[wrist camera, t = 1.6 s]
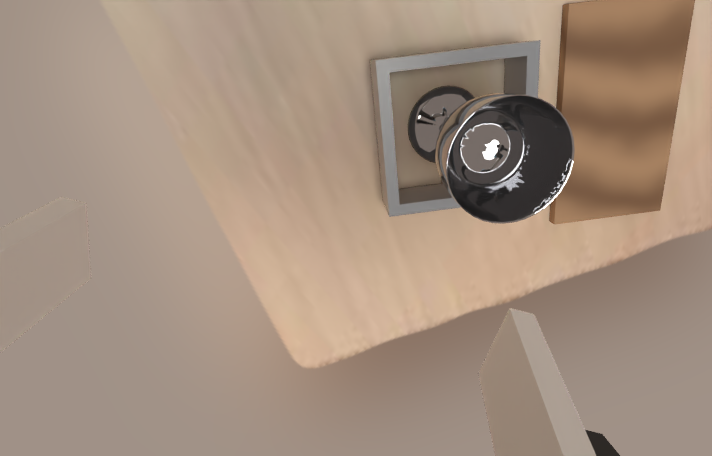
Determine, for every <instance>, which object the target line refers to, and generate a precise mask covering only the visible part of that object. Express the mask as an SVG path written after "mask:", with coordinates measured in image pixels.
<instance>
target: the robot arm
mask: <svg viewBox="0 0 712 456" xmlns="http://www.w3.org/2000/svg"><path fill="white" fill-rule="evenodd" d="M89 279H91V266H90V251H89V235H88V221H87V206H86V203H85V202H81V201H77V200H72V199H68V198H64V197H60V198H58V199H56V200H54V201H52V202H50V203H48V204H46V205H45V206H43V207H41V208H39V209H37V210H35V211H33V212H31V213H29V214H27V215H25V216H23V217H21V218H19V219H17V220H16V221H13V222H12V223H9V224H8V225H6V226H4V227H2V228H0V353H1V352H2V351H3V350H4V349H6V348H7V347H8V346H9V345H10V344H12V343H13V342H14V341H15V340H17V339H18V338H19V337H20V336H21V335H22V334H24V333H25V332H26V331H27V330H29V329H30V328H31V327H32V326H34V325H35V324H36V323H37V322H38V321H40V320H41V319H42V318H43V317H44V316H46V315H47V314H48V313H49V312H50V311H52V310H53V309H54V308H55V307H56V306H58V305H59V304H60V303H61V302H63V301H64V300H65V299H66V298H67V297H69V296H70V295H71V294H72V293H73V292H75V291H76V290H77V289H78V288H80V287H81V286H82V285H83V284H85V283H86V282H87V281H88V280H89ZM478 376H479V380H480V385H481V390H482V395H483V399H484V405H485V409H486V414H487V419H488V423H489V429H490V433H491V438H492V443H493V448H494V453H495V456H620V455H619V454H618V453H617V452H616V450H615V449H614V448H613V447H612V445H611V444H610V443H609V442H608V441H607V439H606V438H605V437H604V436H603V435H602V434H600V433H595V432H592V431H588V430H585V429H584V426H583V424H582V422H581V420H580V418H579V415H578V413H577V411H576V408H575V406H574V404H573V401H572V399H571V397H570V395H569V392H568V390H567V388H566V386H565V383H564V381H563V379H562V377H561V374H560V372H559V370H558V368H557V365H556V363H555V361H554V358H553V356H552V354H551V352H550V349H549V347H548V345H547V343H546V340H545V338H544V336H543V334H542V331H541V329H540V327H539V324H538V322H537V320H536V317H535V315H534V314H531V313H527V312H523V311H519V310H515V309H511V308H510V309H509V310H508V313H507V315H506V317H505V319H504V321H503V323H502V325H501V327H500V329H499V331H498V333H497V335H496V338H495V340H494V342H493V344H492V346H491V348H490V350H489V352H488V354H487V356H486V358H485V360H484V362H483V364H482V366H481V369H480V371H479V373H478Z"/></svg>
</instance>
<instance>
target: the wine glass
mask: <svg viewBox="0 0 712 456" xmlns="http://www.w3.org/2000/svg"><path fill="white" fill-rule="evenodd" d="M408 135H409V139H410V142H411V144H412V146H413V148H414V149H415V151H416V152H417V153H418V154H419V155H420V156H421V157H423V158H424V159H426V160H428V161H430V162H434V163H436V166H437V170H438V173H439V176H440V178H441V181H442V183H443V185H444V186H445V188H446V189H447V191H448V192H449V194H450V195H451V197H452V198H453V199H454V200H455V201H456V202H457V203H458V204H459V205H460V206H461V207H462V208H463V209H464V210H465V211H466V212H468V213H469V214H471V215H472V216H474V217H476V218H478V219H480V220H482V221H486V222H491V223H512V222H517V221H520V220H524V219H526V218H528V217H531V216H533V215H535V214H536V213H538V212H539V211H541V210H543V209H544V208H545V207H546V206H547V205H549V204H550V203H551V202H552V201H553V200H554V199H555V198H556V196H557V195H558V194H559V193H560V192H561V190H562V188H563V187H564V185H565V184H566V182H567V180H568V177H569V175H570V173H571V169H572V165H573V162H574V152H575V149H574V138H573V135H572V131H571V128H570V126H569V124H568V122H567V120H566V119H565V117H564V116H563V115H562V114H561V112H560V111H559V110H558V109H556V108H555V107H554V106H553V105H552V104H550V103H548V102H546V101H544V100H542V99H539V98H536V97H532V96H529V95H524V94H516V93H503V92H502V93H492V94H487V95H483V96H479V97H476V98H475V97H474V96H473V95H472V94H471V93H469V92H468V91H466V90H464V89H462V88H459V87H456V86H442V87H438V88H435V89H433V90H431V91H429V92H427V93H426V94H425V95H423V96H422V97H421V98H420V99H419V100H418V101H417V103H416V104H415V106H414V107H413V109H412V111H411V114H410V117H409V121H408Z"/></svg>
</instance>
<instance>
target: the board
mask: <svg viewBox="0 0 712 456" xmlns="http://www.w3.org/2000/svg"><path fill="white" fill-rule="evenodd" d="M694 3H695V0H596V1H588V2H580V3H571V4H566V5H563V12H562V28H561V44H560V60H559V76H558V92H557V108H556V109H558V110H559V111H560V112H561V114H562V115H563V116H564V117H565V119H566V120H567V122H568V124H569V126H570V128H571V131H572V135H573V138H574V149H575V152H574V162H573V165H572V169H571V173H570V175H569V177H568V180H567V182H566V184H565V185H564V187H563V188H562V190H561V192H560V193H559V194H558V195H557V196H556V198H555V199H554V200H553V201H552V202H551V204H550V220H549V221H550V222H552V223H553V224H561V223H568V222H576V221H584V220H591V219H599V218H606V217H614V216H621V215H629V214H636V213H644V212H652V211H659V210H660V208H661V202H662V196H663V190H664V184H665V178H666V172H667V166H668V160H669V154H670V148H671V142H672V136H673V130H674V124H675V118H676V112H677V106H678V99H679V93H680V87H681V81H682V75H683V69H684V63H685V57H686V51H687V45H688V39H689V33H690V27H691V21H692V15H693V9H694Z"/></svg>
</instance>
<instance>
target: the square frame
mask: <svg viewBox="0 0 712 456" xmlns="http://www.w3.org/2000/svg"><path fill="white" fill-rule="evenodd" d="M504 58H505V80H504V93H516V94H524V95H529V96H532V97H536V98H538V81H539V59H540V40H539V41H525V42H513V43H505V44H497V45H489V46H481V47H472V48H464V49H456V50H448V51H439V52H431V53H423V54H415V55H406V56H398V57H390V58H382V59H373V60H370V69H371V79H372V90H373V101H374V112H375V122H376V133H377V144H378V155H379V166H380V176H381V187H382V198H383V203H384V205H385V207H386V210H387V212H388V215H389V217H391V216H398V215H406V214H414V213H421V212H429V211H437V210H444V209H452V208H460V207H461V206H460V205H459V204H458V203H457V202H456V201H455V200H454V199H453V198H452V197H451V195H450V194H449V192H448V191H447V189H446V188H445V186H444V185H443V183H441V184H434V185H426V186H418V187H410V188H403V189H398V177H397V164H396V151H395V138H394V125H393V112H392V99H391V87H390V74H389V72H398V71H406V70H414V69H422V68H430V67H438V66H447V65H455V64H463V63H471V62H479V61H488V60H496V59H504Z"/></svg>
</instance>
